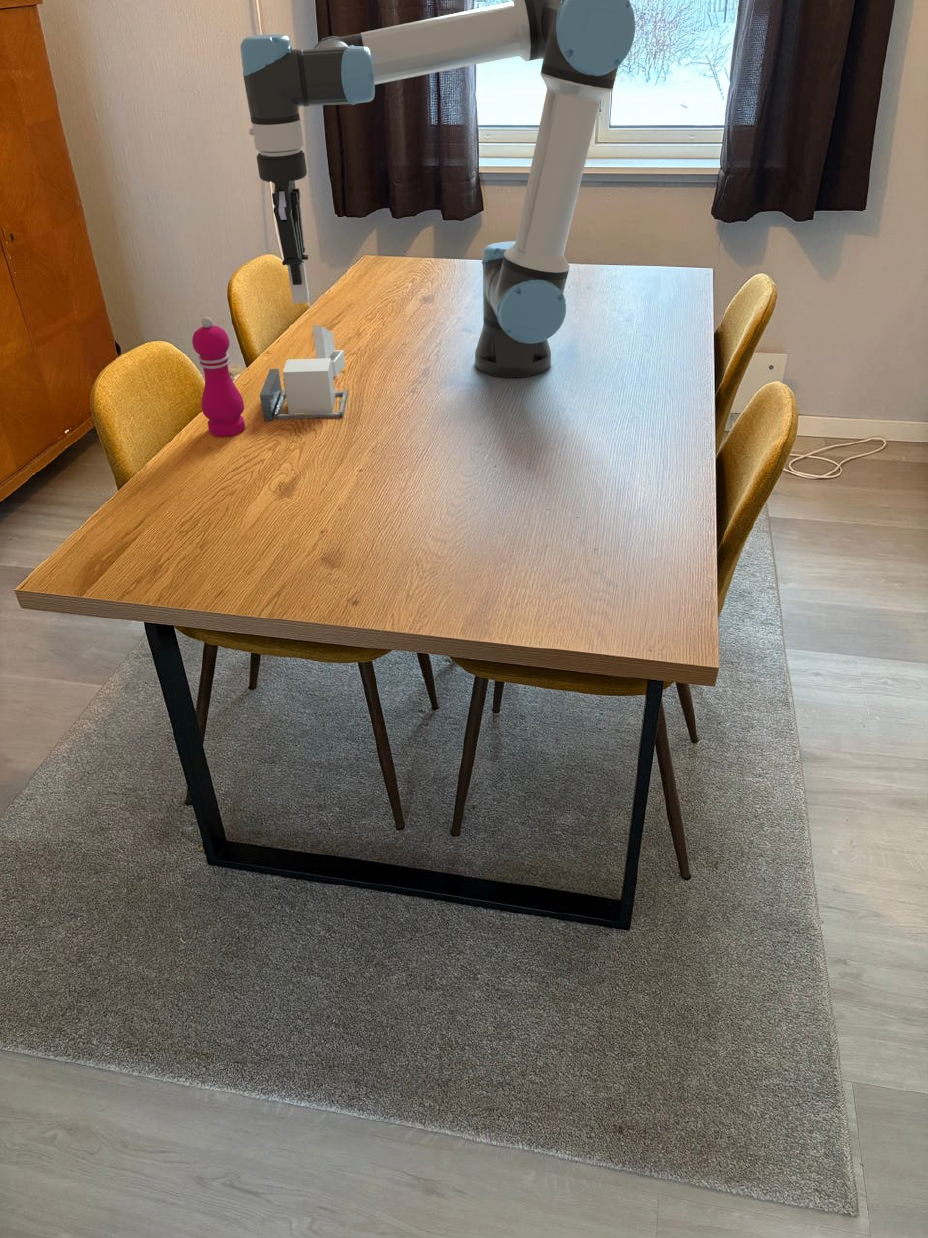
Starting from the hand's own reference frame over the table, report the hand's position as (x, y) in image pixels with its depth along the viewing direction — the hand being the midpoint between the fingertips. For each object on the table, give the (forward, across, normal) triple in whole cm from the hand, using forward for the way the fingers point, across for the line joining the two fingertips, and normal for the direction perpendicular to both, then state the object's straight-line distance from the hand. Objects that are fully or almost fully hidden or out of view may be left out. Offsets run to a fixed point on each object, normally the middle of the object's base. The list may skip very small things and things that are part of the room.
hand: (301, 301), depth 161 cm
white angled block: (+20, -17, +1) cm, 26 cm away
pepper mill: (+19, +9, -15) cm, 26 cm away
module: (+19, 0, -1) cm, 19 cm away
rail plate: (+19, 0, -1) cm, 19 cm away
